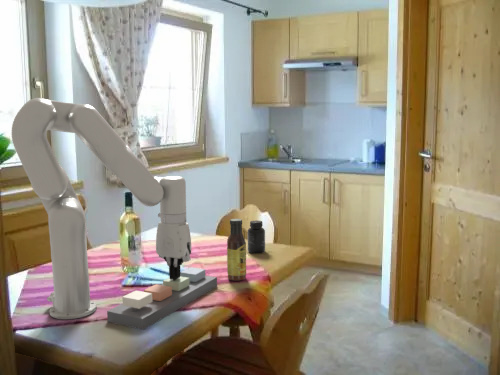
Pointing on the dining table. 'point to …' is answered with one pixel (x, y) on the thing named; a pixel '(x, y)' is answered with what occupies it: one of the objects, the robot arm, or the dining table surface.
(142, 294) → the cream key
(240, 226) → the sauce bottle
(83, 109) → the robot arm
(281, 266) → the dining table surface
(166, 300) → the keypad base
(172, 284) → the sage key
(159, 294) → the terracotta key
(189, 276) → the slate key
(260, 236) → the supplement bottle
